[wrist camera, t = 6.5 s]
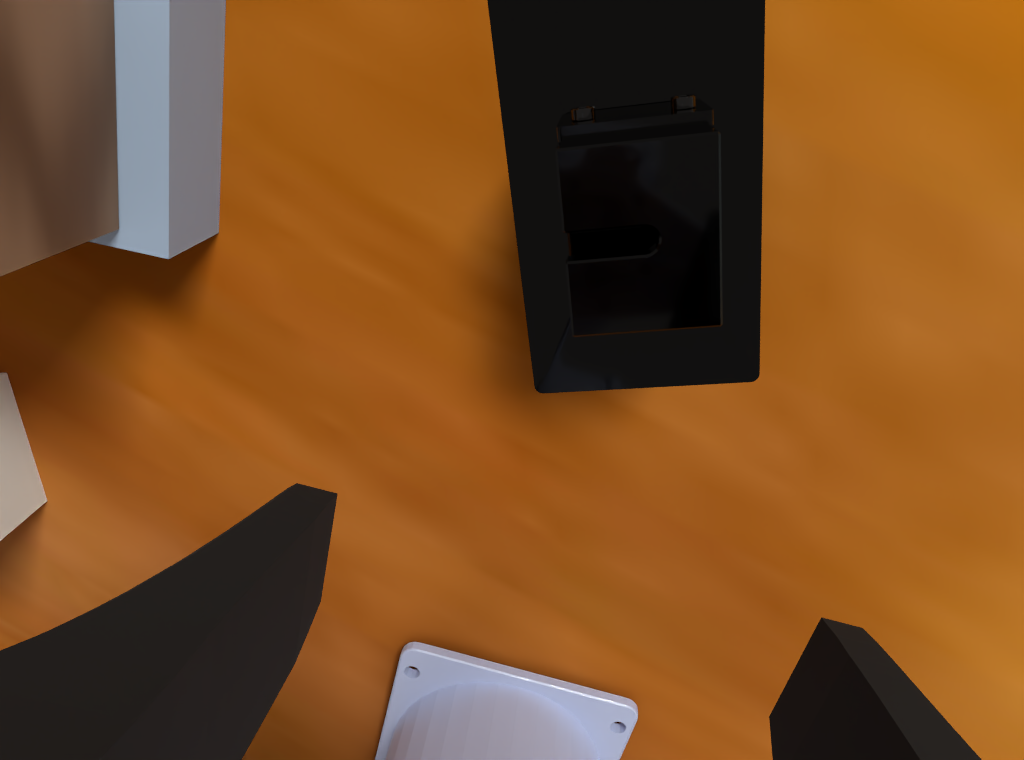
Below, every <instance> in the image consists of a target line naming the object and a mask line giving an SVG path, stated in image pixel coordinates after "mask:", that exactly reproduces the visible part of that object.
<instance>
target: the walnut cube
mask: <svg viewBox="0 0 1024 760" xmlns="http://www.w3.org/2000/svg"><path fill="white" fill-rule="evenodd" d="M118 229H119V208H118V164H117V120H116V76H115V32H114V0H0V276H3V275H5V274H8V273H10V272H13V271H15V270H18V269H20V268H23V267H25V266H28V265H30V264H33V263H35V262H38V261H40V260H43V259H45V258H48V257H50V256H53V255H55V254H58V253H60V252H63V251H65V250H68V249H70V248H73V247H75V246H78V245H80V244H83V243H85V242H88V241H90V240H93V239H95V238H98V237H100V236H103V235H105V234H108V233H111V232H113V231H116V230H118Z"/></svg>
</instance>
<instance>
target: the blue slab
mask: <svg viewBox="0 0 1024 760" xmlns="http://www.w3.org/2000/svg"><path fill="white" fill-rule="evenodd" d="M225 10H226V0H114V32H115V76H116V120H117V164H118V208H119V229H118V230H116V231H113V232H111V233H108V234H105V235H103V236H100V237H98V238H95V239H93V240H90V241H89V242H93V243H98V244H102V245H107V246H111V247H116V248H120V249H125V250H129V251H134V252H138V253H143V254H147V255H152V256H156V257H161V258H165V259H170V258H172V257H174V256H176V255H178V254H180V253H181V252H183V251H185V250H187V249H189V248H191V247H193V246H195V245H197V244H198V243H200V242H202V241H204V240H206V239H208V238H210V237H212V236H214V235H215V234H217V233H219V206H220V173H221V141H222V108H223V75H224V43H225Z"/></svg>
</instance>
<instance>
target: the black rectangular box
mask: <svg viewBox="0 0 1024 760" xmlns="http://www.w3.org/2000/svg"><path fill="white" fill-rule="evenodd" d="M488 8H489V16H490V25H491V33H492V41H493V49H494V57H495V66H496V74H497V82H498V90H499V98H500V107H501V115H502V123H503V131H504V139H505V148H506V156H507V164H508V172H509V180H510V189H511V197H512V205H513V213H514V221H515V230H516V238H517V246H518V254H519V263H520V271H521V279H522V287H523V295H524V304H525V312H526V320H527V328H528V336H529V345H530V353H531V361H532V369H533V377H534V386H535V389H536V390H537V391H538V392H540V393H557V392H576V391H594V390H612V389H631V388H649V387H667V386H686V385H704V384H722V383H741V382H753V381H755V380H756V379H757V378H758V377H759V369H760V302H761V235H762V168H763V101H764V34H765V0H488Z"/></svg>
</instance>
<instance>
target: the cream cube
mask: <svg viewBox="0 0 1024 760" xmlns="http://www.w3.org/2000/svg"><path fill="white" fill-rule="evenodd" d="M45 502H47V498H46V495H45V492H44V489H43V486H42V482H41V479H40V476H39V473H38V470H37V467H36V463H35V460H34V457H33V454H32V451H31V448H30V444H29V441H28V438H27V435H26V432H25V429H24V425H23V422H22V419H21V416H20V413H19V410H18V406H17V403H16V400H15V397H14V394H13V391H12V387H11V384H10V381H9V378H8V375H7V373H0V541H1V540H2V539H3V538H4V537H5V536H7V535H8V534H9V533H10V532H11V531H13V530H14V529H15V528H16V527H17V526H18V525H20V524H21V523H22V522H23V521H24V520H25V519H27V518H28V517H29V516H30V515H31V514H33V513H34V512H35V511H36V510H37V509H38V508H40V507H41V506H42V505H43V504H44V503H45Z"/></svg>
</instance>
